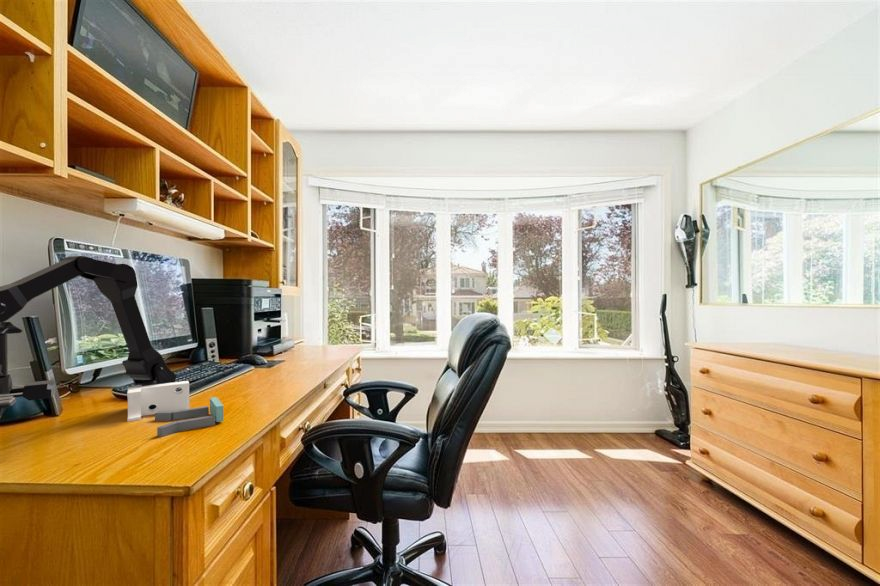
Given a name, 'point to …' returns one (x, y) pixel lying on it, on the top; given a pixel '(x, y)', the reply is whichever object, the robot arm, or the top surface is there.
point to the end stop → (216, 409)
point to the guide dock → (183, 424)
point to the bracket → (157, 399)
